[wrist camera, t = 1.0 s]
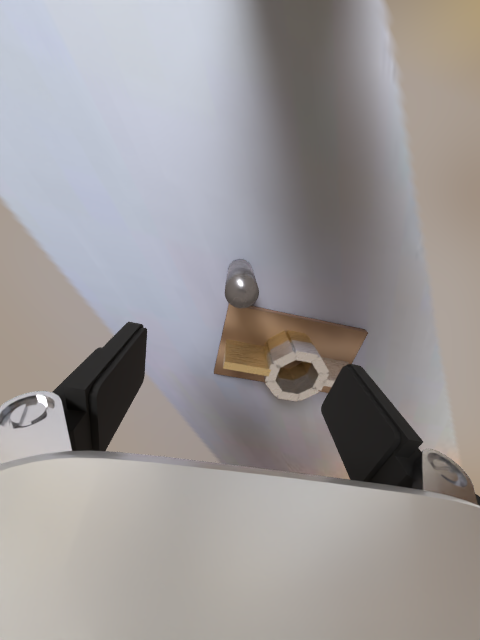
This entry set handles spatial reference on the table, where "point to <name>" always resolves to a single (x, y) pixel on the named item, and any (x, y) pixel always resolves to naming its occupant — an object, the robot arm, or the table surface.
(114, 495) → the robot arm
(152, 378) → the table surface
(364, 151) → the table surface
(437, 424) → the table surface
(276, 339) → the hinge
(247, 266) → the hinge pin
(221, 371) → the mounting board
